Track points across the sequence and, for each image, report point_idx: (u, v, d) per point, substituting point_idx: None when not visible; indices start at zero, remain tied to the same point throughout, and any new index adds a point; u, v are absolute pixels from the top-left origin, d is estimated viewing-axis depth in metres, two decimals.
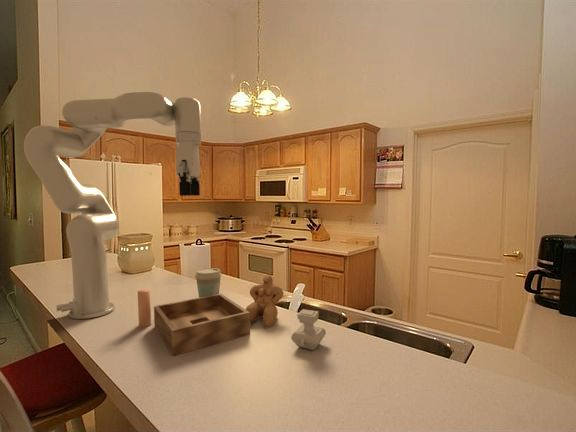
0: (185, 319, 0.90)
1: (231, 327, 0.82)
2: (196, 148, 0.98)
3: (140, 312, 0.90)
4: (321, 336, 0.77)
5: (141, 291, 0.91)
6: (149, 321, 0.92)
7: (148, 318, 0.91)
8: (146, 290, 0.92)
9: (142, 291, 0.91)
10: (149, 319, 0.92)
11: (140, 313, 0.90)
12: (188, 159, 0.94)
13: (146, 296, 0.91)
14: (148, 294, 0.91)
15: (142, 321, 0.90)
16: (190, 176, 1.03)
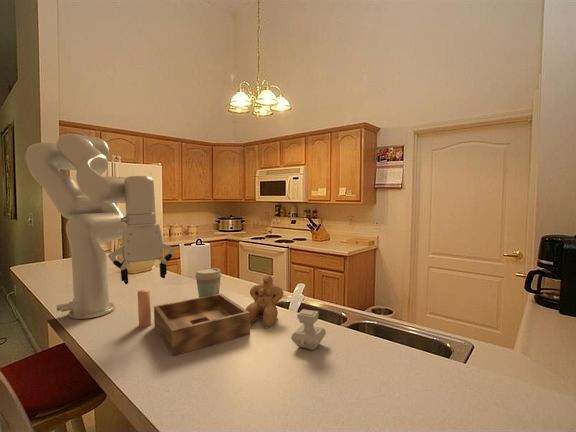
0: (185, 319, 0.90)
1: (231, 327, 0.82)
2: None
3: (140, 312, 0.90)
4: (321, 336, 0.77)
5: (141, 291, 0.91)
6: (149, 321, 0.92)
7: (148, 318, 0.91)
8: (146, 290, 0.92)
9: (142, 291, 0.91)
10: (149, 319, 0.92)
11: (140, 313, 0.90)
12: None
13: (146, 296, 0.91)
14: (148, 294, 0.91)
15: (142, 321, 0.90)
16: None
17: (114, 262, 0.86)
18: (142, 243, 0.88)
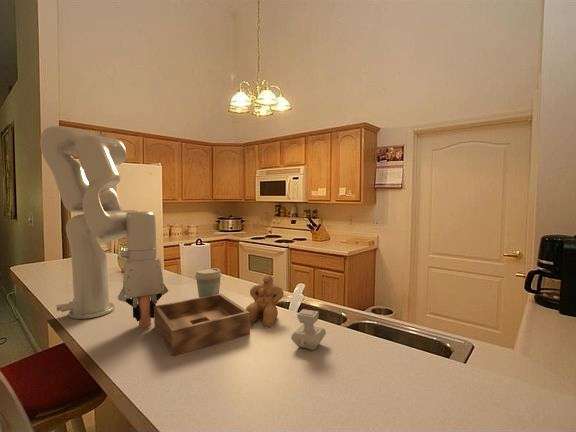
0: (185, 319, 0.90)
1: (231, 327, 0.82)
2: None
3: (140, 312, 0.90)
4: (321, 336, 0.77)
5: None
6: (149, 321, 0.92)
7: (148, 318, 0.91)
8: None
9: None
10: (149, 319, 0.92)
11: (140, 313, 0.90)
12: None
13: (146, 296, 0.91)
14: None
15: (142, 321, 0.90)
16: None
17: (127, 300, 0.88)
18: (142, 279, 0.89)
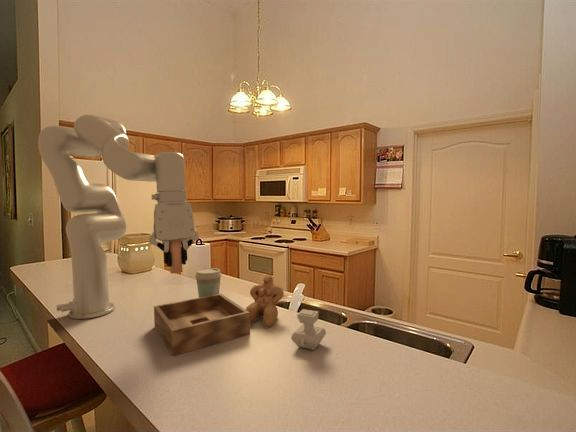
0: (185, 319, 0.90)
1: (231, 327, 0.82)
2: None
3: (171, 257, 0.87)
4: (321, 336, 0.77)
5: None
6: (181, 267, 0.88)
7: (180, 264, 0.88)
8: None
9: None
10: (181, 265, 0.88)
11: (171, 258, 0.87)
12: None
13: (177, 241, 0.87)
14: None
15: (173, 267, 0.87)
16: None
17: (158, 244, 0.85)
18: (174, 221, 0.85)
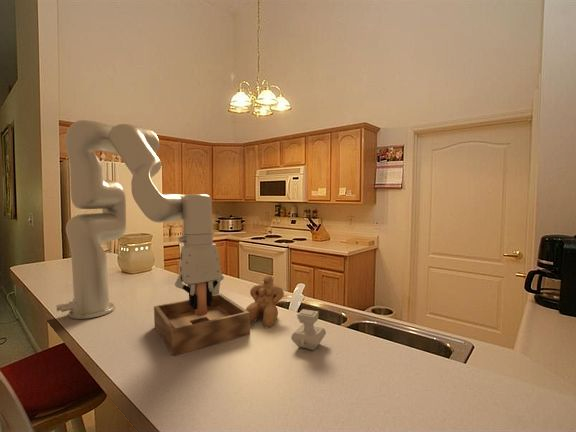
0: (185, 319, 0.90)
1: (231, 327, 0.82)
2: None
3: (197, 300, 0.86)
4: (321, 336, 0.77)
5: None
6: (206, 309, 0.87)
7: (205, 306, 0.87)
8: None
9: None
10: (206, 307, 0.87)
11: (197, 301, 0.86)
12: None
13: (203, 283, 0.86)
14: None
15: (199, 309, 0.86)
16: None
17: (184, 287, 0.84)
18: (200, 264, 0.84)
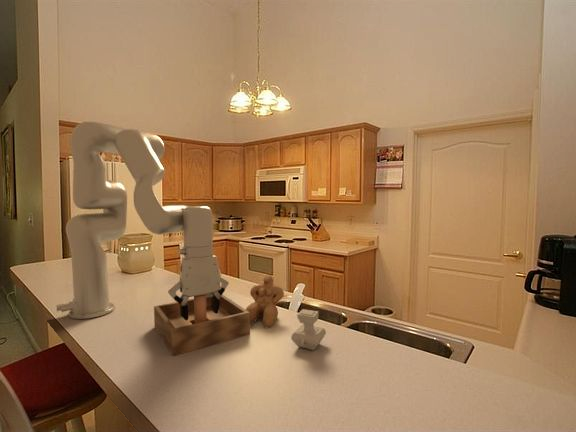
0: None
1: (231, 327, 0.82)
2: None
3: (197, 317, 0.86)
4: (321, 336, 0.77)
5: None
6: None
7: None
8: None
9: None
10: None
11: (197, 318, 0.86)
12: None
13: (203, 300, 0.86)
14: (204, 298, 0.87)
15: None
16: None
17: (175, 298, 0.83)
18: (200, 276, 0.84)
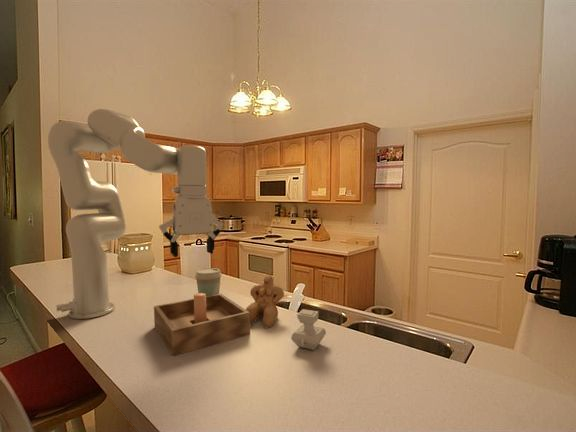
0: (185, 319, 0.90)
1: (231, 327, 0.82)
2: None
3: (197, 317, 0.86)
4: (321, 336, 0.77)
5: (197, 295, 0.87)
6: None
7: None
8: (202, 294, 0.88)
9: (198, 295, 0.87)
10: None
11: (197, 318, 0.86)
12: None
13: (203, 300, 0.86)
14: (204, 298, 0.87)
15: None
16: None
17: (165, 233, 0.83)
18: (193, 216, 0.85)
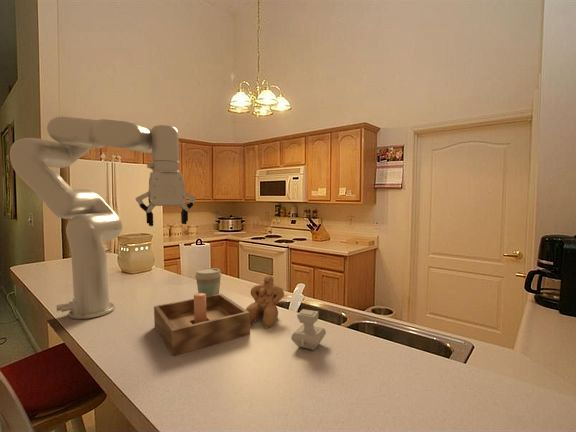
0: (185, 319, 0.90)
1: (231, 327, 0.82)
2: None
3: (197, 317, 0.86)
4: (321, 336, 0.77)
5: (197, 295, 0.87)
6: None
7: None
8: (202, 294, 0.88)
9: (198, 295, 0.87)
10: None
11: (197, 318, 0.86)
12: None
13: (203, 300, 0.86)
14: (204, 298, 0.87)
15: None
16: None
17: (141, 205, 0.92)
18: (167, 188, 0.94)
